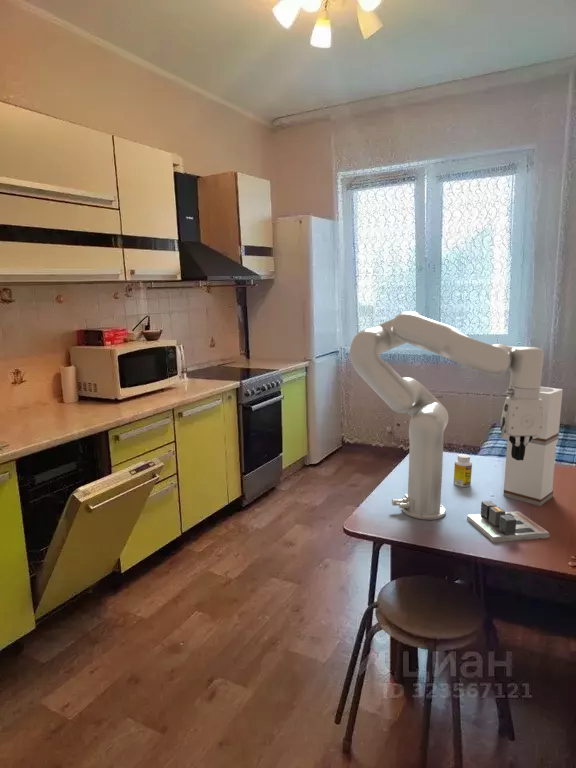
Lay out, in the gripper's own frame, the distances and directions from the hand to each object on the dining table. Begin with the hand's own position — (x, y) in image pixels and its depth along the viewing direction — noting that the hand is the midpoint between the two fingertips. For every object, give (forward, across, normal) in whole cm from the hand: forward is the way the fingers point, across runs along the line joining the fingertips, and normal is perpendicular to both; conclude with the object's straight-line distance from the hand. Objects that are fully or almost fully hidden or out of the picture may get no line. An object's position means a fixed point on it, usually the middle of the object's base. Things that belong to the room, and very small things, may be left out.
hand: (517, 458), depth 144 cm
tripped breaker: (+18, -5, -1) cm, 19 cm away
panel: (+20, -2, -1) cm, 20 cm away
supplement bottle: (+20, +2, +32) cm, 38 cm away
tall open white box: (+20, +18, +19) cm, 33 cm away
